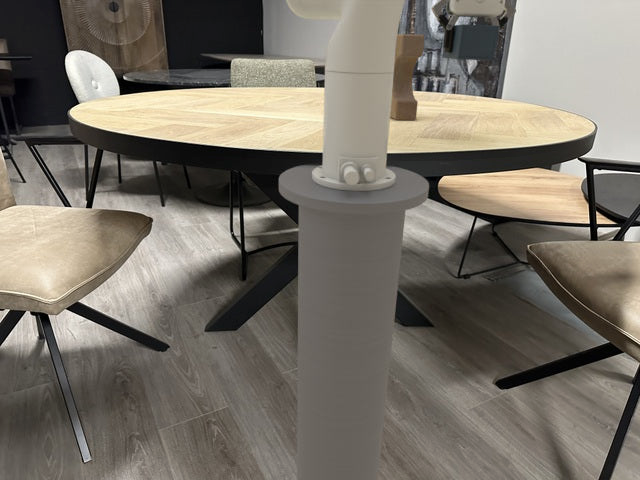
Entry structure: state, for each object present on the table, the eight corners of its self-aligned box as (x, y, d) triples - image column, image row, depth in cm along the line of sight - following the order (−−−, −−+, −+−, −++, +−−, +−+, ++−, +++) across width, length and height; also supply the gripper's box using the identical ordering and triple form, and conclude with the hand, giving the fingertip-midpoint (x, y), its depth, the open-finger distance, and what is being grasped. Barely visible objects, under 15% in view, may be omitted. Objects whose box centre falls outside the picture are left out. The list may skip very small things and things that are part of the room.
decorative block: (416, 120, 119) (425, 34, 111) (394, 120, 118) (402, 33, 111) (402, 114, 129) (410, 34, 122) (382, 113, 129) (389, 34, 121)
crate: (494, 60, 89) (499, 25, 86) (457, 59, 88) (462, 24, 86) (474, 58, 99) (479, 27, 97) (442, 57, 99) (445, 26, 96)
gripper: (440, -57, 83) (428, 52, 89) (537, -53, 83) (518, 55, 90) (430, -49, 90) (419, 51, 96) (520, -46, 90) (503, 54, 97)
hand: (467, 52), depth 93 cm, fingers closed on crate, 7 cm apart
